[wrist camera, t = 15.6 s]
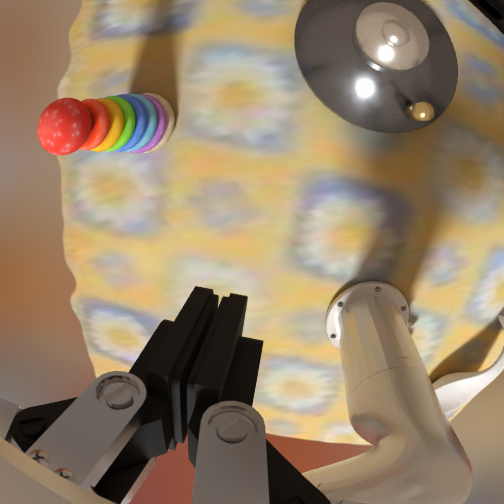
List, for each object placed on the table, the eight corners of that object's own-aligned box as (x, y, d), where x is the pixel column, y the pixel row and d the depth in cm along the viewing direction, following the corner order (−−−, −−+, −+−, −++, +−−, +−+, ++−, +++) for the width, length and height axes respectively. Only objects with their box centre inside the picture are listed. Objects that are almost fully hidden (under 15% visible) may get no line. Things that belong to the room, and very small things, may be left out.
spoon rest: (439, 409, 48) (448, 434, 42) (404, 398, 48) (412, 426, 41) (516, 326, 39) (534, 348, 33) (489, 304, 38) (509, 327, 32)
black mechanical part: (520, 24, 21) (536, 19, 16) (510, 49, 23) (527, 45, 19) (462, -31, 20) (475, -41, 15) (449, -9, 22) (462, -19, 18)
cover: (395, 6, 23) (406, -7, 19) (428, 63, 25) (444, 56, 21) (338, 23, 25) (344, 10, 22) (373, 83, 28) (384, 76, 24)
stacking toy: (159, 82, 33) (63, 58, 16) (187, 131, 35) (101, 137, 18) (114, 116, 36) (11, 121, 18) (140, 163, 38) (42, 194, 21)
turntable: (405, -26, 22) (418, -43, 17) (473, 109, 27) (497, 108, 22) (264, 10, 27) (259, -9, 22) (339, 156, 33) (347, 160, 28)
